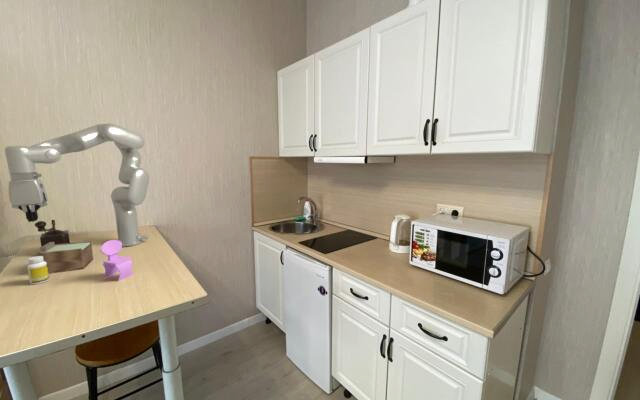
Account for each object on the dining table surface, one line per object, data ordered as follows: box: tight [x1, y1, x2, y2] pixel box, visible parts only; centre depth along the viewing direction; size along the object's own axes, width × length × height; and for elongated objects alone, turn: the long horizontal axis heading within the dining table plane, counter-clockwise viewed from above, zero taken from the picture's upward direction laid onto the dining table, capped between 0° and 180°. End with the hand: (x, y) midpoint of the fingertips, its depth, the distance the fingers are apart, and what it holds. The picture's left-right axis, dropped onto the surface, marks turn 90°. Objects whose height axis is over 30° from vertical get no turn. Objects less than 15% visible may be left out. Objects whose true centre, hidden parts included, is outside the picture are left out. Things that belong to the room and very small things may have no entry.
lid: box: [39, 242, 90, 253], centre depth 120 cm, size 14×9×3 cm, turn 113°
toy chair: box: [100, 239, 134, 282], centre depth 111 cm, size 8×9×15 cm
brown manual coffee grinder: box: [34, 219, 71, 247], centre depth 136 cm, size 16×11×18 cm
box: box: [36, 240, 94, 275], centre depth 121 cm, size 14×12×9 cm
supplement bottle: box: [26, 255, 50, 285], centre depth 107 cm, size 5×5×10 cm
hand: (32, 220), depth 115 cm, fingers closed
